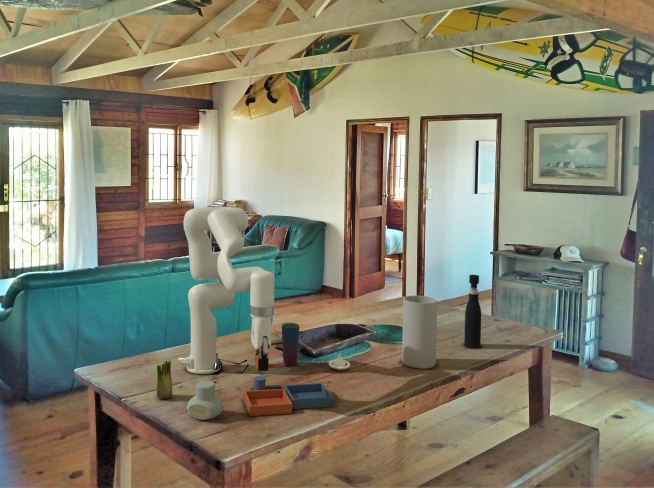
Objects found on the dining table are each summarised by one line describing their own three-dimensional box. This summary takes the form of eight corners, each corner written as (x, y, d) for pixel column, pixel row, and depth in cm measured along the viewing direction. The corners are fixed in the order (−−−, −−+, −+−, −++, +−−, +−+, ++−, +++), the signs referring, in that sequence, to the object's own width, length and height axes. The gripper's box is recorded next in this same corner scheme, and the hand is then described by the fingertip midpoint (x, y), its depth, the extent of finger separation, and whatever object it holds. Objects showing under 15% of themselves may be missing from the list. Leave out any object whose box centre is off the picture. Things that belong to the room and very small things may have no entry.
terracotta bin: (249, 416, 183) (250, 406, 183) (243, 400, 195) (243, 391, 195) (292, 413, 185) (292, 403, 185) (283, 397, 197) (283, 388, 197)
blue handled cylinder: (254, 392, 202) (254, 380, 201) (252, 387, 206) (252, 376, 205) (282, 390, 203) (282, 378, 203) (279, 386, 207) (279, 374, 207)
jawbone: (293, 337, 265) (293, 332, 265) (279, 351, 246) (280, 346, 246) (273, 333, 268) (274, 328, 268) (258, 347, 249) (259, 342, 249)
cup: (297, 367, 225) (298, 328, 225) (279, 366, 227) (280, 327, 226) (300, 361, 232) (300, 323, 231) (282, 360, 233) (283, 322, 233)
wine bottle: (463, 347, 251) (465, 276, 250) (464, 343, 257) (466, 273, 256) (480, 349, 249) (482, 277, 248) (480, 344, 255) (482, 274, 253)
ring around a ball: (348, 365, 228) (327, 364, 229) (349, 350, 228) (327, 350, 228) (351, 373, 220) (329, 372, 221) (351, 358, 220) (329, 357, 220)
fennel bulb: (157, 401, 193) (157, 365, 192) (153, 396, 198) (153, 360, 197) (174, 399, 195) (174, 362, 195) (170, 393, 200) (170, 358, 199)
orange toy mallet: (256, 370, 188) (256, 358, 188) (254, 366, 192) (254, 354, 192) (286, 369, 189) (286, 356, 189) (283, 364, 193) (283, 352, 193)
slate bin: (292, 409, 188) (292, 399, 188) (284, 393, 200) (284, 385, 200) (333, 406, 191) (333, 397, 191) (322, 391, 203) (322, 382, 203)
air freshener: (182, 418, 181) (183, 385, 180) (195, 408, 189) (195, 376, 188) (215, 424, 177) (216, 391, 176) (227, 413, 185) (227, 381, 184)
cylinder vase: (395, 363, 231) (397, 299, 229) (411, 356, 240) (413, 293, 238) (426, 371, 222) (427, 305, 221) (441, 363, 231) (442, 299, 230)
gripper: (246, 304, 197) (245, 360, 198) (255, 318, 180) (254, 378, 181) (268, 304, 198) (268, 358, 199) (279, 317, 182) (279, 376, 183)
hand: (261, 367), depth 190 cm, fingers closed on orange toy mallet, 4 cm apart
